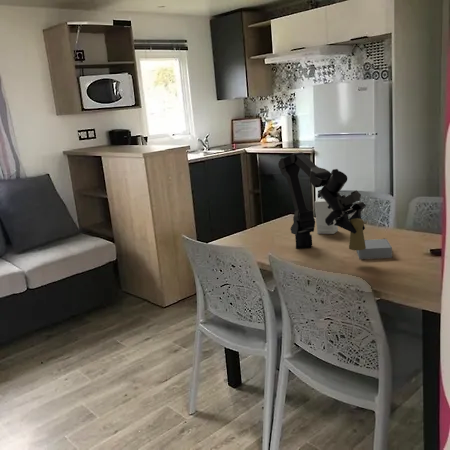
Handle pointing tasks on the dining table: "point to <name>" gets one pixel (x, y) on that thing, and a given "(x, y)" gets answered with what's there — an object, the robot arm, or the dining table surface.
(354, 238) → the cork
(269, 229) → the dining table surface
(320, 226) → the skincare box
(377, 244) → the podium
